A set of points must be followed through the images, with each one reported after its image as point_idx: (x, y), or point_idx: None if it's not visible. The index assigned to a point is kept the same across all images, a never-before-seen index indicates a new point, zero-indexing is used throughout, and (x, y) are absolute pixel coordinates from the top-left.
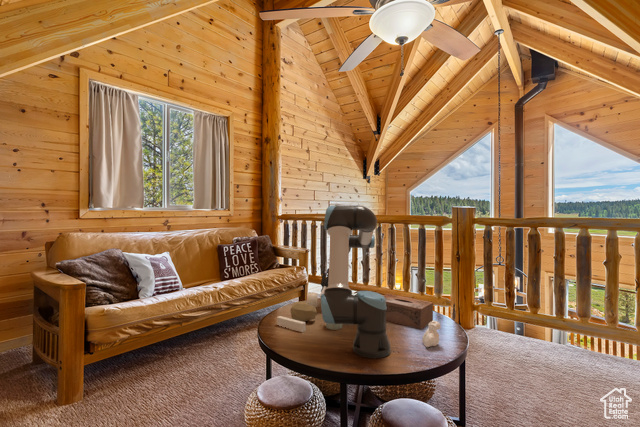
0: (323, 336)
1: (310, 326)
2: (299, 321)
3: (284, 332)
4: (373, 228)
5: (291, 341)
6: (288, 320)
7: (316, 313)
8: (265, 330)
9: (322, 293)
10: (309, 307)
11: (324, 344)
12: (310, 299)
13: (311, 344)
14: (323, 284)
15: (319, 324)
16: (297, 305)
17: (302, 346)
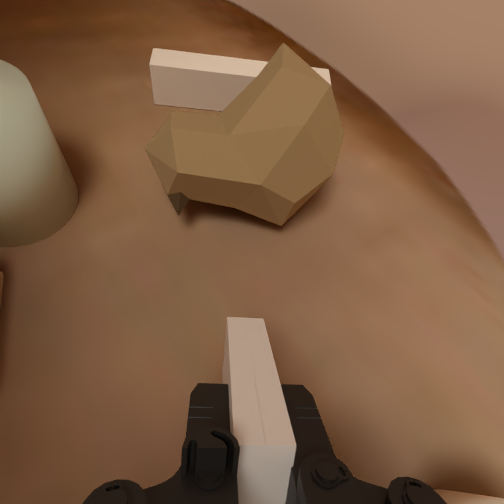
0: (38, 87)
1: None
2: (187, 63)
3: None
4: None
5: (150, 24)
6: (249, 61)
7: (156, 170)
8: (310, 59)
9: (237, 341)
10: (205, 123)
11: (5, 37)
12: (474, 500)
13: (61, 26)
14: (350, 493)
15: (128, 192)
16: (273, 69)
17: (88, 9)
